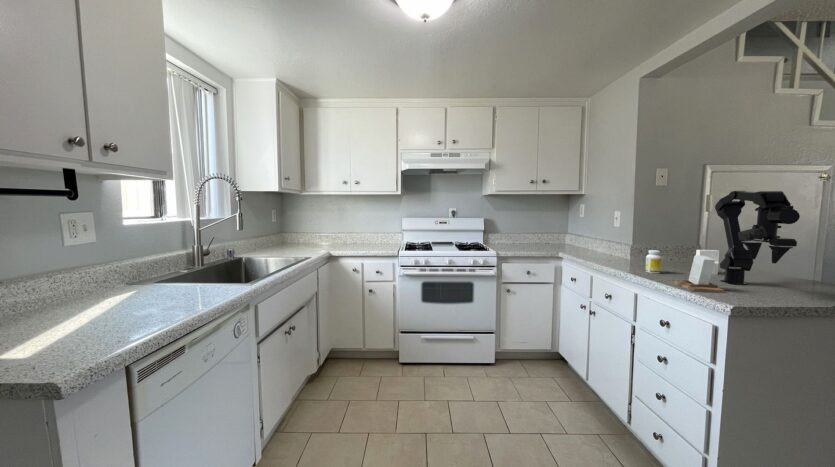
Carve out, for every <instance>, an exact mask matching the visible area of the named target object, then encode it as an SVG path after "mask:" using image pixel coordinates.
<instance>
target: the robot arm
mask: <svg viewBox="0 0 835 467" xmlns="http://www.w3.org/2000/svg"><path fill="white" fill-rule="evenodd" d="M738 200H739V201H738ZM746 201H747V202H752V203H753V204H754V205H757V206H758V207H756V208H755V209H754V211H755V212H757V218H756V224H753V225H752V227H751V228H750V229H746V230H742V231H741V226H740V222H739V216H740V215H741V214H742V209H743V208H744V207H745V206H746ZM714 209H715V212H716V214H717V216H718V217H719V218H720V219H721V220H722V221H723V225H724V230H725V236H726V241H727V248H728V249H727V250H726V252H725V254H724V259H723V260H721V262H720V263H719V268H720V269H722V270H724V279H720V281H721V282H724V283H726V284H729V285H743V286H744V285H745V286H747V285H748V283H747V282H745V271H746V272H751V269H752V267H753V264H754V260H756V258H757V256H758V254H759V253H760V250H761V248H762V244H763V243H767V244H769V245H768V248H769V249H770V250H771V263H772V264H777V263H778V262H779V261H780V259H781V258H782V257H783V256H785V254H786V253H788V251H790V249H791V250H792V249H793V248H794V247H797V244H798V240H796V239H795V238H788V237H781V236H780V235H778V231H779V230H778V229H782V225H779V224H783V225H792V224H795V223H797V222H799V220H800V218H801V214H800V212H799V211H797V210H796V209H794V206H793V205H792V203H791V202H790V201H789V199H788V198H787V195H786V194H785V192H784V191H782V190H769V191H768V190H767V191H766V190H764V191H763V190H762V191H761V190H760V191H747V190H731V191H730V192H729V194H726V195H725V196H723V197H721V198H720V199H719V200H718V201H717V203H716V204H715V206H714ZM745 247H746V248H745Z"/></svg>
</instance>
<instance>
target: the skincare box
mask: <svg viewBox="0 0 835 467" xmlns="http://www.w3.org/2000/svg"><path fill="white" fill-rule="evenodd" d="M714 262H715V260H714V259H711V258H709V257H707V256H700V255H696V254H695V255H694V256H693V260H692V264H691V268H690V272H689V277H688V279H687V280H688V281H690V282H692V283H693V284H703V285H709V283H711V282H710V281H711V277H712V275H711V274H712V270H713V266H714Z"/></svg>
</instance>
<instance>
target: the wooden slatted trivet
mask: <svg viewBox="0 0 835 467" xmlns="http://www.w3.org/2000/svg"><path fill="white" fill-rule="evenodd" d="M688 280H689V279H678V280H672V284H674V285H676V286H679V287H682V288H683V289H686V290H689V291H690V292H695V293H697V292H698V293H699V292H700V293H716V292H721V293H722V294H725V289H723V288H720V287H719V285H717V284H714V283H712V282H709V285H703V284H693V283H692V282H690V281H688ZM721 293H720V294H721Z"/></svg>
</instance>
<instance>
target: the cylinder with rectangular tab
mask: <svg viewBox="0 0 835 467" xmlns="http://www.w3.org/2000/svg"><path fill="white" fill-rule="evenodd" d="M695 255H700V256H707V257H709V258H711V259H714V260H715V262H714V266H713V270H712V274H711V276H715V275H718V274H719V266H720V263H719V261H720V260H719V259H720V250H717V249H696V252H695Z"/></svg>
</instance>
